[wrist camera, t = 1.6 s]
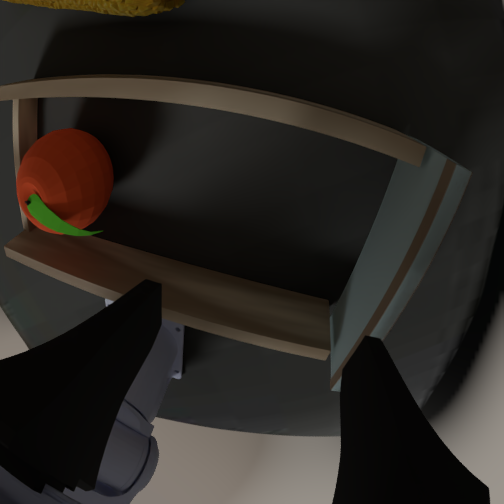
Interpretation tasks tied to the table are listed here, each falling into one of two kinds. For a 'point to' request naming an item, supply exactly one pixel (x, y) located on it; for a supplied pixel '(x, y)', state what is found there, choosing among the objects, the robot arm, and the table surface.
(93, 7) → the food
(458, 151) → the table surface
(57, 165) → the clementine
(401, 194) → the panel
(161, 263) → the crate
